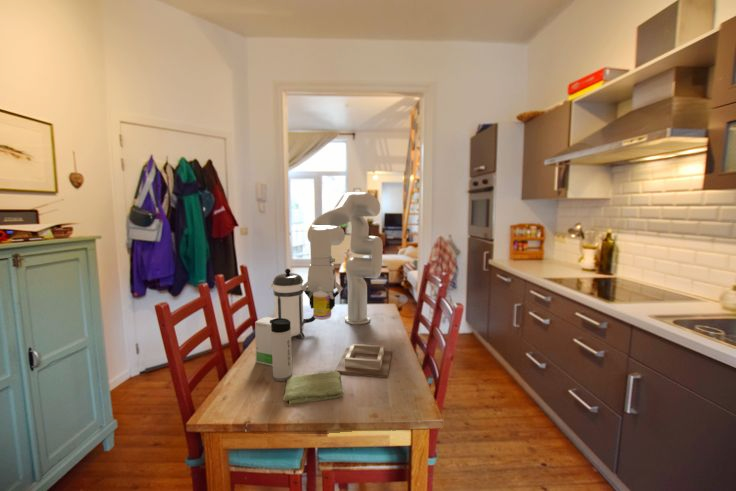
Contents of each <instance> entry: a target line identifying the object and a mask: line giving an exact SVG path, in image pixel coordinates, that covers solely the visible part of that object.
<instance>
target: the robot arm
mask: <svg viewBox="0 0 736 491" xmlns="http://www.w3.org/2000/svg"><path fill="white" fill-rule="evenodd" d="M380 211H381V202H380V201H379V199H378V198H377V197H375V196H374V195H373V194H371V193H369V192H366V191H364V192H363V191H358V192H356V191H355V192H354V191H353V192H352V191H351V192H346V193H344V194H343V195H342V196H341V197H340V199H339V200H338V202H337V203H336V204H335V206H334V208H333V209H331V210H328V211H326V212H324V213H322V214H321V215H319V216H317V217H316V218H315V219H314V220H313V221H312V223H311V224H310V226H309V227H308V231H307V239H308V241H309V244H310V245H309V246H310V247H309V248H310V264H309V267H308V272H307V280H306V282H305V283H304V284H302V287H301V289H302V290H303V293H304V294H305V295H306V296H307V298H308V299H309V306H310V309H313V293H314V292H317V291H322V292H328V293H329V295H330V300H329V301H330V310H331V311H332V310H333V309H334V307H335V306H336V297H338V295H339V294H341V292H342V291H343V289H344V288H343V286H341V284H339V283H338V282H337V276H336V268H335V265H334V263H335V262H336V258H333V257H332V246H340V245H341V244H342V243H343V242H344V241H345V238H346V235H345V231H344V229H343V227H342V226H345V225H347V224H349V223H350V225H351V230H350V231H351V233H350V242H349V245H350V252H351V253H352V254H354V255H356V257H350V258H348V259H347V260H346V262H345V267H344V268H345V273H346V279H347V315H346V316H345V317H344V321H345V322H346V323H347V324H350V325H365V324H368V323H370V322H371V317H370V316H369V315H368V285H367V282H366V280H365V278H366V279H378V278H380V276H381V274H382V269H383V268H382V265H383V264H382V263H383V248H384V247H383V245H384V244H383V239H382V238H381V237H380V236H376V235H369V234H370V233H369V230H370V227H369V224H368V221H367V220H366V219H365V217H377V216H378V215H379V214H380ZM357 255H359V256H371V257H357ZM307 287H308V289H307ZM319 287H321V288H322V289H321V290H320V289H318V288H319ZM335 289H337V290H336V291H334V290H335Z"/></svg>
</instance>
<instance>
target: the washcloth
mask: <svg viewBox="0 0 736 491" xmlns="http://www.w3.org/2000/svg"><path fill="white" fill-rule="evenodd" d="M341 379H342V376H341V374H340V373H339V372H337V371H335V370H331V371H329V372H318V373H311V374H303V375H302V374H301V375H294V376H292V377H291V378H289V379H288V380H286V384H285V388H284V391H285V394H284V395H283V401H286V402H288V401H289V402H288V403H289V404H288V405H297V404H304V403H311V402H319V401H326V400H331V399H332V400H333V399H340V398H341V397H343V395H344V389H343V384H341V381H342V380H341Z"/></svg>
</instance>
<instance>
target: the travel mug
mask: <svg viewBox="0 0 736 491" xmlns="http://www.w3.org/2000/svg"><path fill="white" fill-rule="evenodd" d="M270 324H271V338H272V362H273V366H272V379H273V380H274V381H277V382H284V381H287V380H288V379H289V378H291V377H293V359H292V358H293V355H292V354H293V351H292V337H291V327H290V321H289V320H288V319H284V318H276V319H273V320H270Z"/></svg>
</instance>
